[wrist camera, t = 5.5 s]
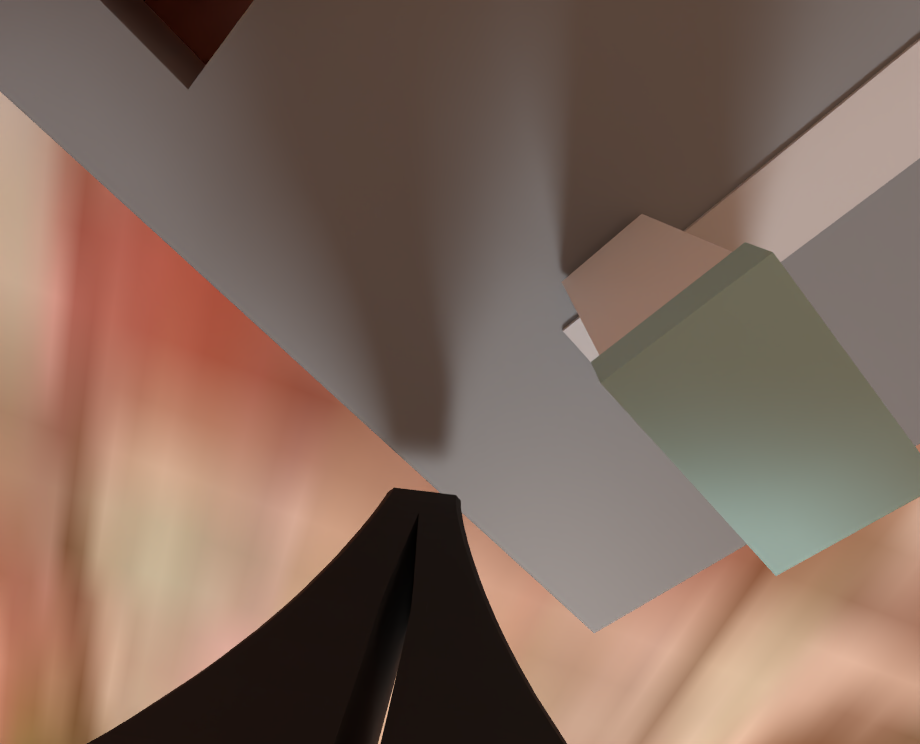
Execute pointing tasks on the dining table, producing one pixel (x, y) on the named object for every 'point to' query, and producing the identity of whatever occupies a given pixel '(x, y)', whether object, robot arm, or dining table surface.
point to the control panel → (506, 216)
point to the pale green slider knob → (743, 389)
